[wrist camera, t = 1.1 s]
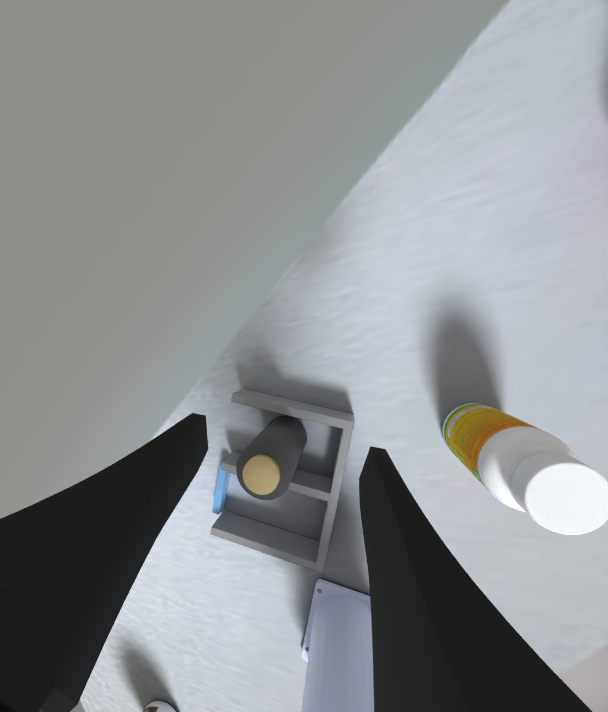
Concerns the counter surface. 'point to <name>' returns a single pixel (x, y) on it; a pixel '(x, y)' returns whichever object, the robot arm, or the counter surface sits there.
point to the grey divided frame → (302, 482)
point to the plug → (272, 458)
